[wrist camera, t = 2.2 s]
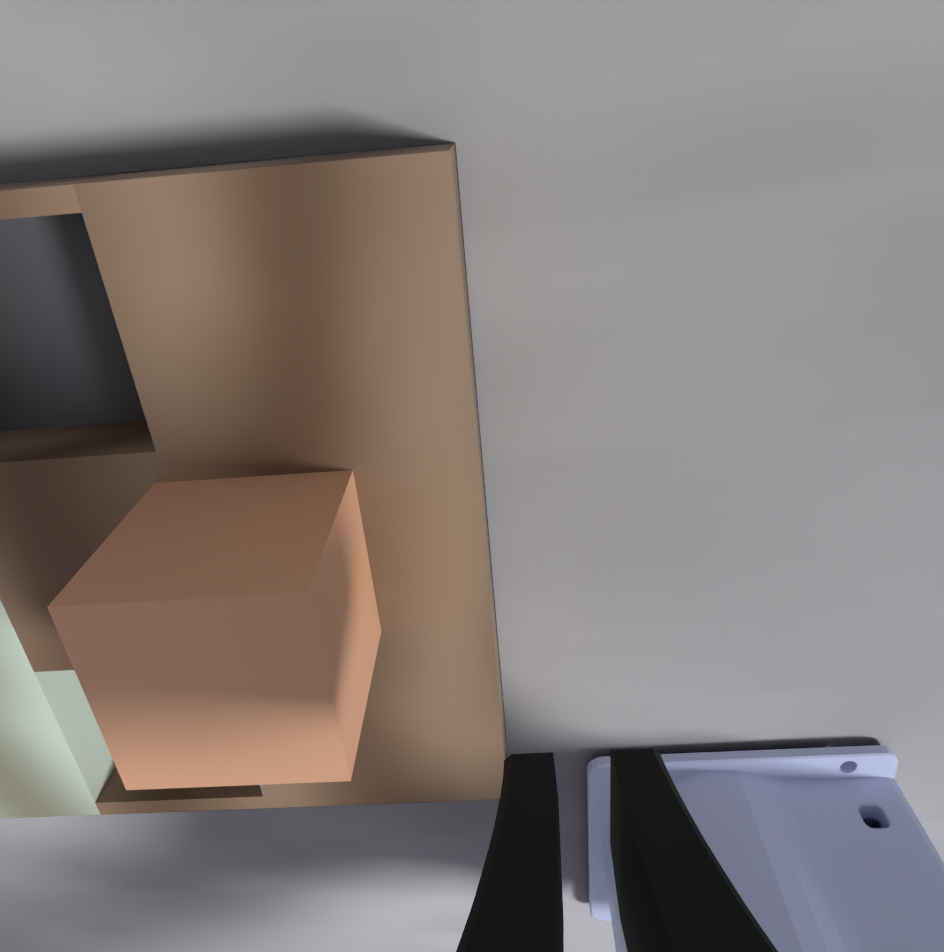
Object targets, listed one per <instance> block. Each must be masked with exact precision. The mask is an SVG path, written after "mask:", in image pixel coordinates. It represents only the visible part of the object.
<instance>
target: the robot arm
mask: <svg viewBox="0 0 944 952" xmlns="http://www.w3.org/2000/svg"><path fill="white" fill-rule="evenodd" d="M897 765H898V759H897V758H896V756H895V755H894V753H893V751H892V750H891V749H890V748H889V747H887V746H881V745H870V746H846V747H822V748H797V749H773V750H749V751H724V752H700V753H676V754H660V753H658V752H657V751H656V750H654V749H653V748H650V749H626V750H610V756H603V757H597V758H595V759H593V760H591V761H590V763H589V764H588V766H587V802H588V861H589V906H590V913H591V916H593V917H594V918H595V919H597V920H601V921H612V926H613V933H614V940H615V947H616V952H944V862H943V860H942V858H941V857H940V855H939V853H938V852H937V850H936V848H935V846H934V845H933V843H932V841H931V840H930V838H929V836H928V835H927V833H926V831H925V830H924V828H923V826H922V824H921V823H920V821H919V819H918V818H917V816H916V814H915V813H914V811H913V809H912V808H911V806H910V804H909V802H908V801H907V799H906V797H905V796H904V794H903V792H902V791H901V789H900V787H899V785H898V784H897V782H896V780H895V779H894V776H895V772H896V769H897ZM456 952H563V901H562V878H561V855H560V832H559V808H558V794H557V785H556V775H555V766H554V758H553V753H530V754H511V755H510V756H509V757H507V758H506V759H505V760H504V770H503V781H502V788H501V795H500V801H499V806H498V811H497V816H496V821H495V825H494V829H493V834H492V838H491V842H490V846H489V850H488V853H487V857H486V860H485V864H484V867H483V871H482V874H481V878H480V881H479V885H478V888H477V892H476V895H475V899H474V902H473V905H472V908H471V911H470V914H469V917H468V920H467V922H466V925H465V928H464V931H463V934H462V937H461V940H460V943H459V945H458V948H457V951H456Z"/></svg>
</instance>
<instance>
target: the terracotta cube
mask: <svg viewBox="0 0 944 952" xmlns="http://www.w3.org/2000/svg"><path fill="white" fill-rule="evenodd" d="M47 608H48V610H49V613H50V615H51V617H52V620H53V622H54V624H55V627H56V629H57V631H58V634H59V636H60V638H61V640H62V643H63V645H64V647H65V650H66V652H67V654H68V657H69V659H70V661H71V664H72V666H73V668H74V671H75V673H76V675H77V677H78V680H79V682H80V684H81V687H82V689H83V691H84V694H85V696H86V698H87V701H88V703H89V705H90V708H91V710H92V712H93V715H94V717H95V719H96V721H97V724H98V726H99V728H100V731H101V733H102V735H103V738H104V740H105V742H106V745H107V747H108V749H109V752H110V754H111V756H112V758H113V761H114V763H115V765H116V768H117V770H118V772H119V775H120V777H121V779H122V782H123V784H124V786H125V789H126V790H143V789H168V788H193V787H218V786H243V785H268V784H293V783H318V782H343V781H351V778H352V773H353V768H354V763H355V758H356V753H357V748H358V743H359V738H360V733H361V728H362V724H363V719H364V714H365V709H366V704H367V699H368V694H369V689H370V684H371V679H372V674H373V670H374V665H375V660H376V655H377V650H378V645H379V640H380V635H381V626H380V621H379V615H378V609H377V604H376V598H375V592H374V587H373V581H372V576H371V570H370V564H369V559H368V553H367V547H366V542H365V536H364V530H363V525H362V519H361V513H360V508H359V502H358V496H357V491H356V485H355V479H354V474H353V470H346V471H331V472H315V473H300V474H284V475H269V476H253V477H238V478H223V479H207V480H192V481H176V482H161V483H154V484H153V485H152V487H151V488H150V489H149V490H148V491H147V492H146V493H145V495H144V496H143V497H142V498H141V499H140V500H139V502H138V503H137V504H136V505H135V506H134V507H133V508H132V510H131V511H130V512H129V513H128V514H127V515H126V517H125V518H124V519H123V520H122V521H121V522H120V524H119V525H118V526H117V527H116V528H115V529H114V530H113V532H112V533H111V534H110V535H109V536H108V537H107V539H106V540H105V541H104V542H103V543H102V544H101V545H100V547H99V548H98V549H97V550H96V551H95V552H94V554H93V555H92V556H91V557H90V558H89V559H88V560H87V562H86V563H85V564H84V565H83V566H82V567H81V569H80V570H79V571H78V572H77V573H76V574H75V576H74V577H73V578H72V579H71V580H70V581H69V582H68V584H67V585H66V586H65V587H64V588H63V589H62V591H61V592H60V593H59V594H58V595H57V596H56V597H55V599H54V600H53V601H52V602H51V603H50V604H49V606H48V607H47Z"/></svg>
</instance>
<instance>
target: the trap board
mask: <svg viewBox="0 0 944 952" xmlns="http://www.w3.org/2000/svg"><path fill="white" fill-rule="evenodd" d="M346 470H353V474H354V479H355V485H356V491H357V496H358V502H359V508H360V513H361V519H362V525H363V530H364V536H365V542H366V547H367V553H368V559H369V564H370V570H371V576H372V581H373V587H374V592H375V598H376V604H377V609H378V615H379V621H380V626H381V635H380V640H379V645H378V650H377V655H376V660H375V665H374V670H373V674H372V679H371V684H370V689H369V694H368V699H367V704H366V709H365V714H364V719H363V724H362V728H361V733H360V738H359V743H358V748H357V753H356V758H355V763H354V768H353V773H352V778H351V781H343V782H318V783H293V784H268V785H243V786H218V787H193V788H168V789H143V790H126V789H125V786H124V784H123V782H122V779H121V777H120V775H119V772H118V770H117V768H116V765H115V763H114V761H113V758H112V756H111V754H110V752H109V749H108V747H107V745H106V742H105V740H104V738H103V735H102V733H101V731H100V728H99V726H98V724H97V721H96V719H95V717H94V715H93V712H92V710H91V708H90V705H89V703H88V701H87V698H86V696H85V694H84V691H83V689H82V687H81V684H80V682H79V680H78V677H77V675H76V673H75V671H74V668H73V666H72V664H71V661H70V659H69V657H68V654H67V652H66V650H65V647H64V645H63V643H62V640H61V638H60V636H59V634H58V631H57V629H56V627H55V624H54V622H53V620H52V617H51V615H50V613H49V610H48V608H47V607H48V606H49V604H50V603H51V602H52V601H53V600H54V599H55V597H56V596H57V595H58V594H59V593H60V592H61V591H62V589H63V588H64V587H65V586H66V585H67V584H68V582H69V581H70V580H71V579H72V578H73V577H74V576H75V574H76V573H77V572H78V571H79V570H80V569H81V567H82V566H83V565H84V564H85V563H86V562H87V560H88V559H89V558H90V557H91V556H92V555H93V554H94V552H95V551H96V550H97V549H98V548H99V547H100V545H101V544H102V543H103V542H104V541H105V540H106V539H107V537H108V536H109V535H110V534H111V533H112V532H113V530H114V529H115V528H116V527H117V526H118V525H119V524H120V522H121V521H122V520H123V519H124V518H125V517H126V515H127V514H128V513H129V512H130V511H131V510H132V508H133V507H134V506H135V505H136V504H137V503H138V502H139V500H140V499H141V498H142V497H143V496H144V495H145V493H146V492H147V491H148V490H149V489H150V488H151V487H152V485H153V484H154V483H161V482H176V481H192V480H207V479H223V478H238V477H253V476H269V475H284V474H300V473H315V472H331V471H346ZM505 759H506V729H505V717H504V706H503V694H502V682H501V671H500V659H499V647H498V636H497V624H496V612H495V601H494V589H493V577H492V566H491V554H490V542H489V531H488V519H487V507H486V496H485V484H484V472H483V461H482V449H481V437H480V426H479V414H478V402H477V391H476V379H475V367H474V356H473V344H472V332H471V321H470V309H469V297H468V286H467V274H466V262H465V251H464V239H463V227H462V216H461V204H460V192H459V181H458V169H457V157H456V146H455V143H444V144H433V145H422V146H411V147H400V148H389V149H378V150H366V151H355V152H344V153H333V154H322V155H311V156H300V157H289V158H278V159H267V160H256V161H245V162H234V163H223V164H212V165H201V166H190V167H179V168H168V169H156V170H145V171H134V172H123V173H112V174H101V175H90V176H79V177H68V178H57V179H46V180H35V181H24V182H13V183H2V184H0V818H24V817H50V816H76V815H103V814H129V813H155V812H181V811H208V810H234V809H260V808H287V807H313V806H339V805H366V804H392V803H418V802H444V801H471V800H497V799H500V795H501V788H502V781H503V770H504V760H505Z"/></svg>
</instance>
